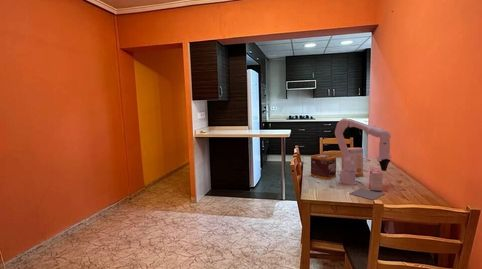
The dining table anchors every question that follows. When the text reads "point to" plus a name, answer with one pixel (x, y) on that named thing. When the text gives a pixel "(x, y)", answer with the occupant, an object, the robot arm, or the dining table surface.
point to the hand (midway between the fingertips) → (383, 170)
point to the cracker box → (356, 160)
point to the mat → (367, 194)
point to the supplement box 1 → (323, 166)
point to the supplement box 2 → (375, 181)
